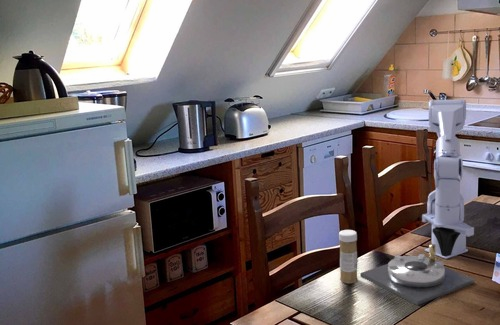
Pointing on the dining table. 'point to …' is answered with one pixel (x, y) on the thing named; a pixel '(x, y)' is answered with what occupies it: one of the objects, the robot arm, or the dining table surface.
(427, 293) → the base plate
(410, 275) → the tabbed hub disc
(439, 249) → the robot arm
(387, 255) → the dining table surface
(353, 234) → the sprinkles bottle
